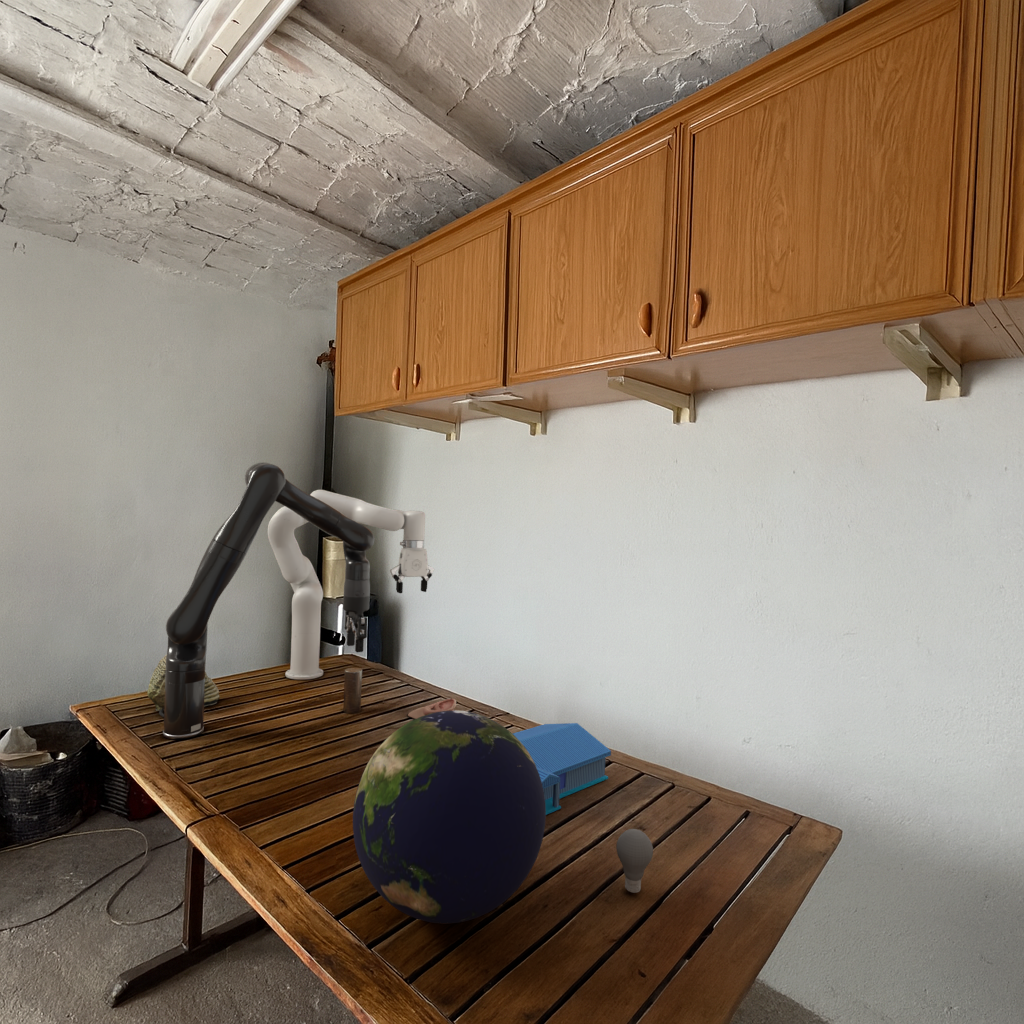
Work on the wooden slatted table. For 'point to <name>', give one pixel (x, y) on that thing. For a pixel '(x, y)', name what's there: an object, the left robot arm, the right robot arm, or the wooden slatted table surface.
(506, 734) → the globe
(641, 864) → the light bulb
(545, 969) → the wooden slatted table surface
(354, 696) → the can
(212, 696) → the fossil
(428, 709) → the anatomical model
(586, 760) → the model building
